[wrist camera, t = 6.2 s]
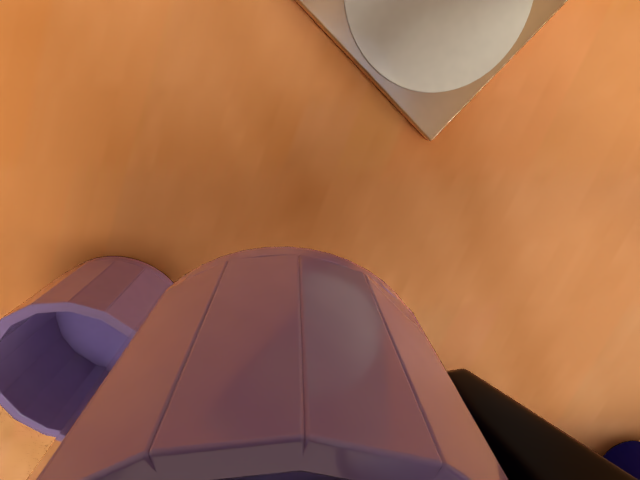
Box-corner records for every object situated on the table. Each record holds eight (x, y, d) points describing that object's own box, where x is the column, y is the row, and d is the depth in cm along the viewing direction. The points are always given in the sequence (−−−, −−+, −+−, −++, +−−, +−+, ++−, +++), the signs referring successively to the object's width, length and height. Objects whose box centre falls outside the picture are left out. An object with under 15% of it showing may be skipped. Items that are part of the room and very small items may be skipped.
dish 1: (215, 309, 19) (192, 368, 15) (140, 389, 20) (100, 464, 16) (101, 229, 17) (38, 268, 13) (28, 322, 18) (-51, 385, 14)
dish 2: (482, 361, 9) (669, 614, 4) (299, 521, 10) (303, 833, 6) (257, 177, 7) (198, 297, 3) (72, 402, 8) (-166, 722, 4)
